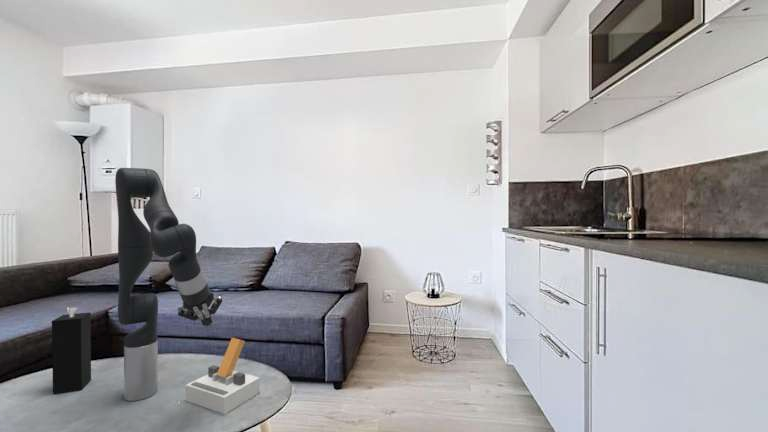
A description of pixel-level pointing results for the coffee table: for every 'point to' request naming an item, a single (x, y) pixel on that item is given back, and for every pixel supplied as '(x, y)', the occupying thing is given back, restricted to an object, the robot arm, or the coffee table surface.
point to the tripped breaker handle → (230, 358)
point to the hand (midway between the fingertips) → (208, 323)
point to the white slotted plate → (222, 390)
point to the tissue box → (71, 351)
